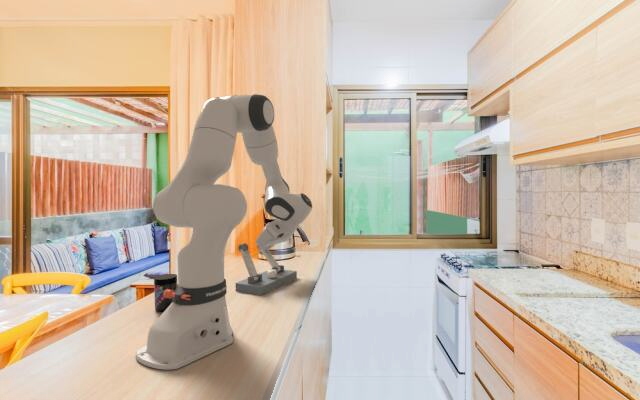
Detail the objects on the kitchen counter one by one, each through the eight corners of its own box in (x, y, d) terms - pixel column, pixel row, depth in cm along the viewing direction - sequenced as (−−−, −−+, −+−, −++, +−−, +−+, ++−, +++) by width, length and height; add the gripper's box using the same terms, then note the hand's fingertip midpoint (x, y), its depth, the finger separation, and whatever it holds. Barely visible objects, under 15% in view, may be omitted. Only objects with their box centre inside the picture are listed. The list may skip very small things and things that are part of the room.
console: (261, 295, 113) (261, 280, 113) (235, 291, 118) (235, 276, 118) (296, 278, 134) (296, 265, 134) (273, 275, 140) (273, 262, 140)
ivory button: (273, 278, 122) (273, 272, 122) (265, 277, 124) (265, 271, 124) (278, 276, 125) (278, 270, 125) (271, 275, 127) (271, 269, 127)
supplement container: (158, 306, 104) (157, 274, 104) (180, 304, 106) (179, 273, 105) (151, 313, 98) (150, 280, 97) (175, 311, 99) (174, 278, 99)
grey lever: (256, 281, 117) (241, 243, 119) (250, 283, 118) (236, 246, 121) (261, 278, 120) (247, 241, 122) (255, 281, 121) (241, 244, 123)
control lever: (279, 270, 130) (259, 241, 134) (274, 274, 131) (254, 245, 136) (283, 268, 133) (263, 240, 137) (279, 272, 134) (259, 244, 138)
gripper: (293, 219, 140) (275, 239, 145) (264, 224, 122) (245, 247, 127) (302, 229, 139) (284, 250, 143) (274, 236, 120) (254, 259, 125)
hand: (265, 249), depth 135 cm, fingers closed, pressing on control lever
